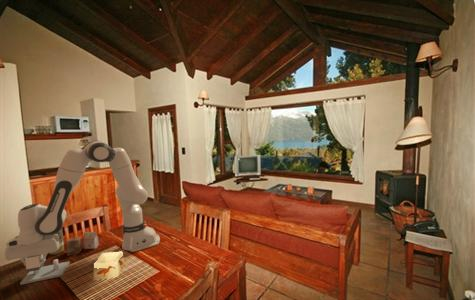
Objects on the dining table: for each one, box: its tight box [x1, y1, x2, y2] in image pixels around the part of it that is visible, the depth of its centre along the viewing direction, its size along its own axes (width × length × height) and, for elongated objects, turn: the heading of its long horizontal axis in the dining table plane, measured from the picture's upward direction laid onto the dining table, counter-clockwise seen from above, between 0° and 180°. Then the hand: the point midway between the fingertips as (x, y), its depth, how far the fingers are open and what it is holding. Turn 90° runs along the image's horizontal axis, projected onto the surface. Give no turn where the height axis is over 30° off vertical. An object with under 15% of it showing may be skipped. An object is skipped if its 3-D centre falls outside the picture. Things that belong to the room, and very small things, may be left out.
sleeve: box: [25, 254, 45, 273], centre depth 107 cm, size 5×5×7 cm
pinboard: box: [19, 258, 71, 286], centre depth 109 cm, size 16×11×6 cm
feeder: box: [66, 236, 83, 256], centre depth 127 cm, size 6×5×8 cm
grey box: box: [82, 231, 99, 250], centre depth 133 cm, size 4×7×10 cm, turn 93°
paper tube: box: [49, 227, 65, 256], centre depth 127 cm, size 7×7×25 cm
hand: (35, 263), depth 107 cm, fingers closed on sleeve, 5 cm apart
